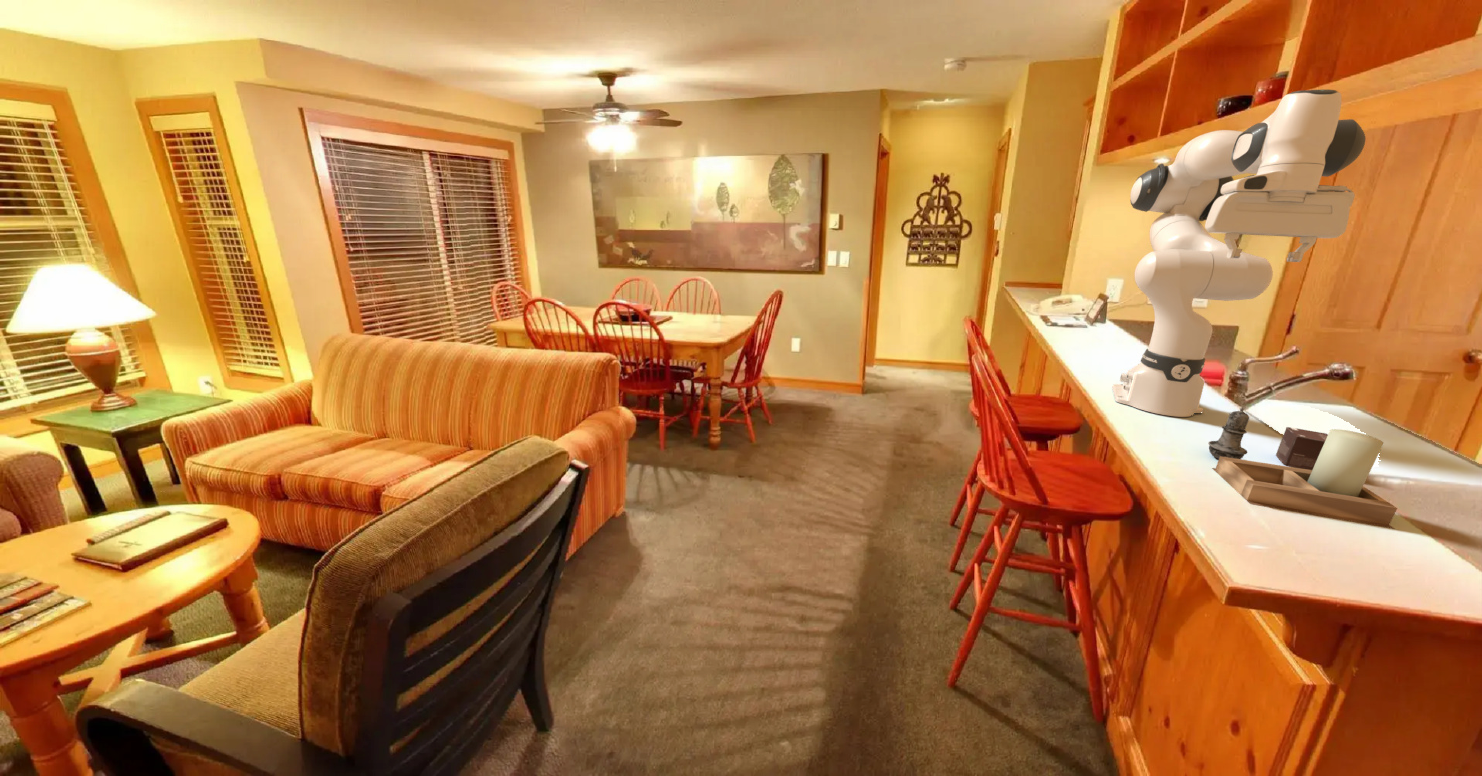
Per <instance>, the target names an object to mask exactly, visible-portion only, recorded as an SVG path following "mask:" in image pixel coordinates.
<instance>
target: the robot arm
mask: <svg viewBox="0 0 1482 776" xmlns="http://www.w3.org/2000/svg"><path fill="white" fill-rule="evenodd" d="M1341 108H1342V93H1341V92H1339V91H1337V90H1335V89H1307V90H1305V89H1303V90H1296V91H1291V92H1290V93H1288V94H1285V95H1284V96H1283V97H1282V99H1280V101H1279V104H1278V106H1277V107H1276V109H1275V111H1274V112H1272V113H1271V114H1270V115H1269V116H1268V117H1267V118H1265V119H1264V120H1263V121H1261V122H1257V123H1255V124H1253V125H1252V126H1250V127H1248V128H1247V129H1245V130H1244V131H1242V130H1241V131H1240V130H1234V129H1233V130H1232V129H1231V130H1230V129H1220V130H1214V131H1210V132H1205V133H1204V134H1203V133H1202V134H1201V135H1198V136H1196V137H1194V138H1193V139H1191V140H1189V141H1188V142H1186V143H1185V144H1184V145H1183V146H1182V147H1181V148H1180V149H1179V151H1178V152H1177V154H1176V157H1175V159H1174V161H1173V163H1172V164H1170V165H1164V163H1159V164H1158V165H1157V166H1156V167H1155V168H1152V169H1148V170H1147V171H1145V172H1144V173H1142V174H1141V175H1139V176H1138V177H1137V178H1136V180H1135V182H1134V183H1133V185H1132V187H1131V190H1130V195H1129V196H1130V205H1131V207H1132V208H1133V209H1135V210H1137V211H1140V212H1141V211H1142V212H1145V213H1147V212H1155V213H1161V215H1159V216H1158V217H1157V218H1156V219H1155V220H1154V221H1153V222H1152V224H1151V226H1150V228H1149V241H1150V246H1151V249H1152V251H1150V252H1148V253H1147V254H1145V255H1144V256H1143V257H1142V258H1141V259H1140V260H1139V261H1138V263H1137V264H1136V267H1135V269H1134V274H1133V275H1134V281H1135V285H1136V286H1137V288H1138V289H1139V290H1140V291H1141V292H1142V293H1144V295H1145V296H1146V297H1147V298H1148V300H1149V301H1150V303H1151V306H1152V308H1153V312H1154V313H1153V314H1154V324H1153V328H1152V329H1153V330H1152V333H1151V338H1150V341H1149V345H1148V348H1146V349H1145V351H1144V352H1143V354H1142V357H1141V359H1140V363H1138V364H1137V365H1135V366H1133V367H1132V368H1131V369H1129V370H1127V372H1126V373H1121V375H1120V378H1119V382H1121V384H1120V383H1119V384H1117V383H1115V384H1112V387H1111V389H1112V393H1113V397H1114V400H1115V402H1117V403H1120V404H1124V405H1128V406H1131V407H1134V408H1136V409H1138V410H1142V411H1145V412H1149V413H1153V414H1157V415H1163V416H1171V417H1176V418H1177V417H1179V418H1180V417H1181V418H1184V417H1186V418H1187V417H1192V416H1194V415H1195V414H1194V413H1201V412H1203V413H1204V408H1203V407H1201V406H1200V402H1201V399H1202V398H1201V397H1202V395H1203V390H1204V387H1205V380H1204V379H1203V378H1202V377H1201V375H1200V374H1201V373H1202V372H1203V369H1204V368H1205V363H1206V358H1205V355H1206V352H1207V350H1208V347H1209V344H1210V341H1211V338H1212V334H1213V326H1212V324H1211V322H1210V321H1209V320H1208V319H1207V318H1206V317H1205V316H1203V315H1202V314H1199V313H1198V312H1195V311H1194V309H1193V301H1194V299H1198V300H1211V301H1223V302H1226V301H1227V302H1229V301H1230V302H1231V301H1243V300H1245V301H1246V300H1253V299H1255V298H1257V297H1259V296H1260V295H1261V294H1263V293H1264V292H1265V291H1266V290H1267V289H1268V287H1269V286H1270V284H1271V282H1272V280H1273V276H1274V275H1273V273H1274V272H1273V267H1272V264H1271V263H1270V262H1269V261H1268V259H1267V258H1265V257H1262V256H1259V255H1254V254H1251V253H1247V252H1245V251H1243V248H1238V245H1237V243H1236V241H1235V240H1238V239H1239V238H1240V235H1248V236H1266V237H1268V236H1269V237H1286V238H1287V237H1288V238H1289V237H1290V238H1299V241H1298V242H1299V244H1301V245H1299V247H1298V248H1297V249H1295V251H1290V252H1288V253H1287V258H1286V262H1288V263H1289V262H1291V263H1300V262H1302V261H1303V260H1302V259H1303V257H1304V254H1305V253H1306V252H1307V251H1309V250H1310V249H1311V247H1313V246H1314V245H1315V244H1316V241H1317V239H1335V238H1336V239H1337V238H1339V237H1340V236H1342V235H1343V234H1345V232H1346V231H1347V227H1348V224H1349V223H1348V222H1349V218H1350V211H1351V209H1350V208H1351V207H1352V205H1353V203H1354V200H1355V192H1354V191H1353V190H1352V189H1350V188H1348V186H1346V185H1328V184H1327V185H1326V184H1320V183H1321V182H1320V181H1321V180H1322V179H1321V178H1322V177H1331V176H1332V175H1333V176H1334V174H1337V173H1338V172H1340V171H1342V170H1344V169H1346V168H1347V167H1348V166H1350V165H1351V164H1353V162H1355V161H1356V160H1357V159H1358V158H1359V156H1360V155H1361V153H1362V151H1364V147H1365V146H1366V145H1365V144H1366V134H1365V132H1364V129H1363V128H1362V126H1360V124H1359V123H1358V122H1357V121H1356V120H1355V119H1352V118H1350V119H1340V115H1341ZM1245 174H1252V175H1248V176H1244V177H1242V178H1238V179H1235V180H1234V178H1233V177H1234V176H1239V175H1245ZM1254 174H1255V175H1254ZM1204 221H1205V225H1204V226H1203V225H1202V224H1201V222H1204ZM1211 234H1224V239H1223V240H1224V242H1222V241H1221V240H1219V239H1216V238H1215V237H1213V236H1212V235H1211ZM1122 383H1123V384H1122ZM1193 414H1194V415H1193ZM1191 415H1192V416H1191Z"/></svg>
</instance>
